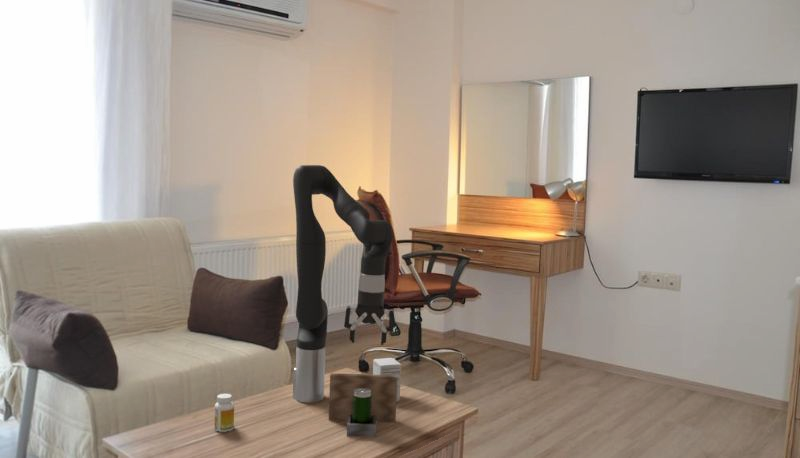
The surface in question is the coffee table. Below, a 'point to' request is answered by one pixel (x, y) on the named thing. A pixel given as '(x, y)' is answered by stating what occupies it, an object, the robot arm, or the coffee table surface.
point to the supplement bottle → (224, 413)
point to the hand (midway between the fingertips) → (367, 343)
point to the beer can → (362, 406)
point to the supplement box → (388, 370)
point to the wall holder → (380, 407)
